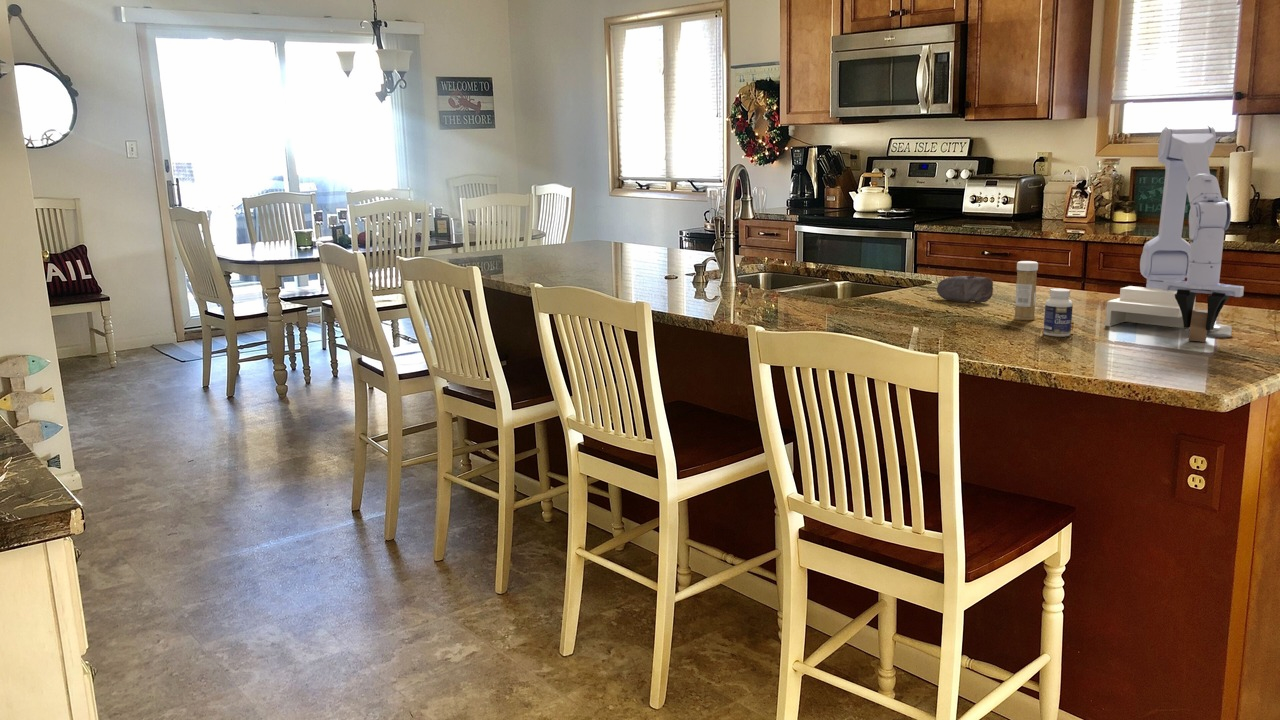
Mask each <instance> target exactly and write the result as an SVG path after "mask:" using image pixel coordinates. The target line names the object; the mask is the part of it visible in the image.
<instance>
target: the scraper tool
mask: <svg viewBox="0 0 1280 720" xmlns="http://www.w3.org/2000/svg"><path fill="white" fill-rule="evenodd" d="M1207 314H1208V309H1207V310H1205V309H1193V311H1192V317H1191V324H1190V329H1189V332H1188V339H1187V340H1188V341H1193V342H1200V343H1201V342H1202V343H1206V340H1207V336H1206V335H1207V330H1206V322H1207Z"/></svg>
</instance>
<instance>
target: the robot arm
mask: <svg viewBox="0 0 1280 720" xmlns="http://www.w3.org/2000/svg"><path fill="white" fill-rule="evenodd" d="M1216 135H1217V133H1216V130H1215V128H1214V127H1213V126H1212V125H1207V126H1179V127H1178V126H1177V127H1175V126H1174V127H1173V126H1171V127H1170V126H1165V127H1164V128H1163V129H1162V131H1161V133H1160V135H1159V140H1158V150H1157V162H1159V163H1161V164H1164V167H1165V168H1164V170H1165V172H1164V173H1165V174H1164V184H1163V190H1162V191H1163V192H1162V200H1161V210H1160V217H1159V218H1160V219H1159V227H1158V235H1156V236H1155V237H1153V238H1151V239H1150V240H1148V241H1147V242H1145V243H1144V246H1143V248H1142V253H1141V255H1140V260H1139V271H1140V275H1142V277H1144V278H1145V279H1146V284H1145V285H1146V286H1145V287H1146V288H1158V289H1163V290H1166V291H1168V290H1172V291H1177V294H1175V299H1176V301H1177V303H1178V305H1179V307H1180V310H1181V313H1182V318H1183V323H1184V328H1183V329H1188V328H1189V327H1190V324H1191V317H1192V311H1193V305H1194V301H1195V302H1196V299H1195V297H1196V296H1197V294H1206V295H1207V296H1206V302H1207V311H1208V314H1207V322H1206V330H1213V328H1214V324H1216V321H1217V319H1218V316H1219V315H1220V312H1221V310H1222V309H1223V307H1224V305H1225V304H1226V302H1228V300H1229V298H1230V297H1235V298H1241V297H1243V296H1244V291H1245V286H1243V285H1234V284H1227V283H1226V284H1225V283H1220V277H1221V268H1222V259H1223V249H1224V241H1225V231H1227V230H1228V229H1229V227H1230V224H1231V219H1232V208H1231V202H1230V201H1229V200H1227V199H1226V198H1223V196H1222V193H1221V192H1222V191H1221V188H1220V184H1219V179H1218V178H1217V177H1216V176H1215V175H1213V174H1211V171H1210V163H1209V162H1210V161H1209V158H1210V157H1211V156H1212V153H1213V152H1214V149H1215V147H1216V141H1217V140H1216V139H1217V136H1216ZM1187 196H1188V197H1187ZM1187 198H1188V202H1189V206H1190V209H1189V214H1188V226H1189V227H1188V228H1189V233H1188V235H1189V236H1188V237H1189V239H1190V242H1188V241H1187V240H1185V239H1184V238H1183V237H1182V235H1183V227H1184V221H1185V220H1184V218H1185V210H1186V204H1187V203H1186V202H1187ZM1185 279H1186V280H1185ZM1196 298H1197V297H1196Z"/></svg>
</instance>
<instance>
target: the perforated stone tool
mask: <svg viewBox="0 0 1280 720" xmlns="http://www.w3.org/2000/svg"><path fill="white" fill-rule="evenodd" d="M936 292H937V295H938V296H939V297H940V298H942V299H944V300H946V301H954V302H957V303H965V304H968V303H971V302H974V304H981V303H987V302H988V301H989V300H990V299H991V298H992V296H993V294H994V281H993V280H992V279H991V278H990V277H984V276H972V275H957V276H950V277H946V278H944V279H941V280H940V281H939V282H938V284H937V287H936Z"/></svg>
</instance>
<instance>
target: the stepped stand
mask: <svg viewBox="0 0 1280 720" xmlns="http://www.w3.org/2000/svg"><path fill="white" fill-rule="evenodd" d="M1119 291H1120V292H1119V297H1118V298H1114V299H1110V300H1107V302H1106V314H1105V326H1107V327H1112V326H1115V325H1118V324H1120V323H1124V322H1127V323H1137V324H1145V325H1155V326H1163V327H1170V328H1171V327H1172V328H1178V329H1180V328H1181V329H1185V328H1184V323H1183V318H1182V313H1181V310H1180V307H1179V305H1178V303H1177V301H1176V299H1175V294H1177V291H1172V290H1168V291H1166V290H1163V289H1158V288H1146V286H1145V287H1143V286H1133V285H1128V286H1125V287H1120V289H1119ZM1196 298H1197V297H1195V301H1194V305H1193V309H1195V308H1196V300H1197V299H1196ZM1187 329H1189V330H1190V327H1189V328H1187Z"/></svg>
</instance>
